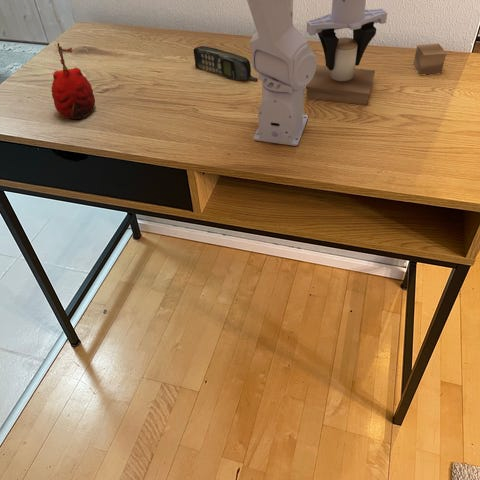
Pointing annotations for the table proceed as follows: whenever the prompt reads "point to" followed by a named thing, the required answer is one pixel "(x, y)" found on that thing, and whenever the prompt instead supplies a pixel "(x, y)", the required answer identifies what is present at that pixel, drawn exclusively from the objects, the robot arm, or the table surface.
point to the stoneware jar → (344, 59)
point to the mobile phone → (223, 63)
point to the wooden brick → (340, 86)
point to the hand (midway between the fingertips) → (342, 65)
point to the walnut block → (429, 59)
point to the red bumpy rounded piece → (71, 91)
